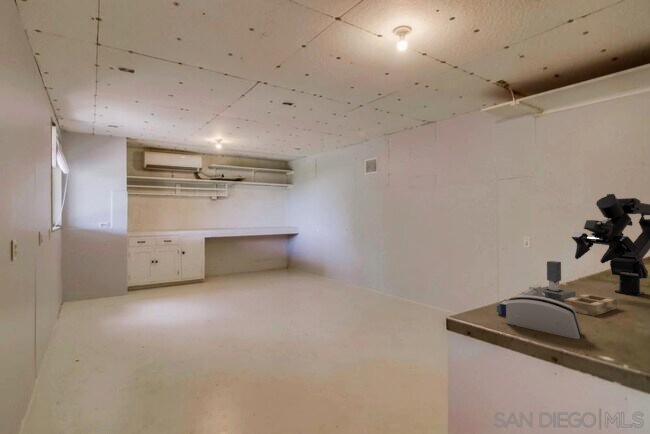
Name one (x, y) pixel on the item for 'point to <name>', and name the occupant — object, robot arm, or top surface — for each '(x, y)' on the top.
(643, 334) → the top surface
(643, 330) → the top surface
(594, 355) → the top surface
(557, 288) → the tall grey square pillar
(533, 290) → the white bulb-headed handheld tool
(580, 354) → the top surface
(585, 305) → the rack
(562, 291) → the socket
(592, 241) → the robot arm
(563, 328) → the grey arched slab
